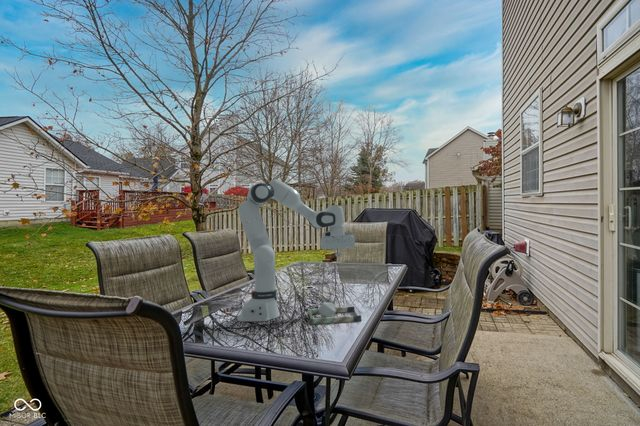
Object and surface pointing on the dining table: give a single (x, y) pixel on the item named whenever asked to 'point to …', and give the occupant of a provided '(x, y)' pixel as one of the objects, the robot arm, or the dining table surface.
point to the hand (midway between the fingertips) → (338, 256)
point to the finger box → (335, 319)
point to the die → (327, 310)
